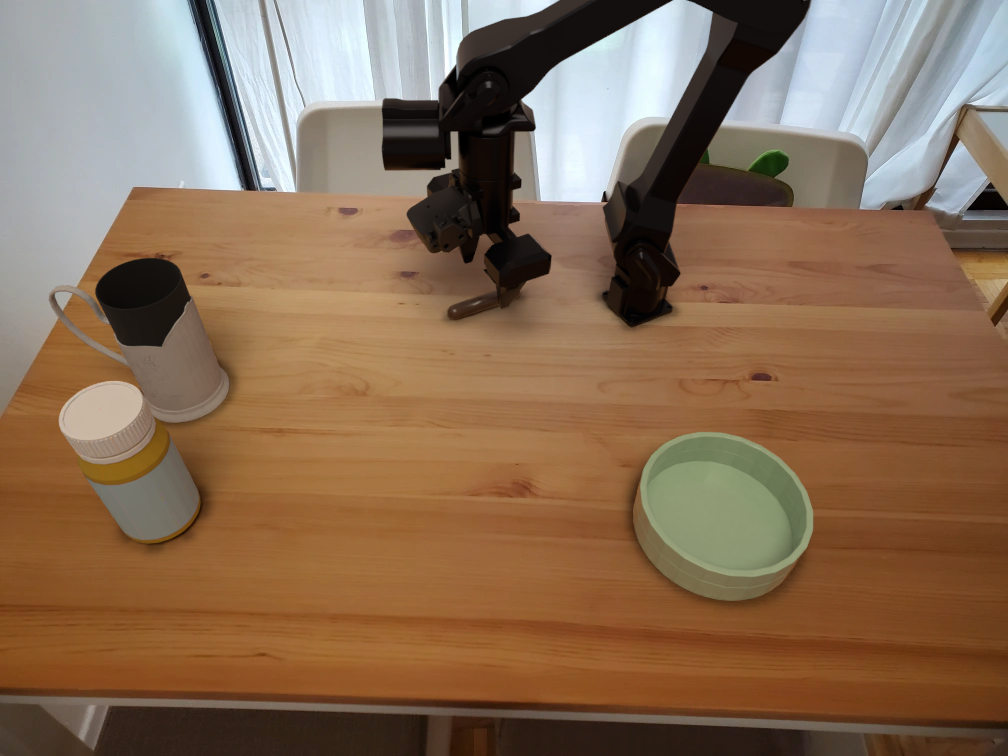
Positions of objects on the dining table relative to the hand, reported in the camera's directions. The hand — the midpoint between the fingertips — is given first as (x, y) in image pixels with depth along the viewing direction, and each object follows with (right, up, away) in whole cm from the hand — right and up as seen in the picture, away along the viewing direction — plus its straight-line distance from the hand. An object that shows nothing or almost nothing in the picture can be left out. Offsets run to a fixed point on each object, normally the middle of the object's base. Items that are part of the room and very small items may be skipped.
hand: (485, 284), depth 85 cm
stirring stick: (0, -2, +3) cm, 4 cm away
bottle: (-30, -24, -18) cm, 42 cm away
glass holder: (-35, -12, -7) cm, 38 cm away
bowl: (+22, -25, -17) cm, 37 cm away
